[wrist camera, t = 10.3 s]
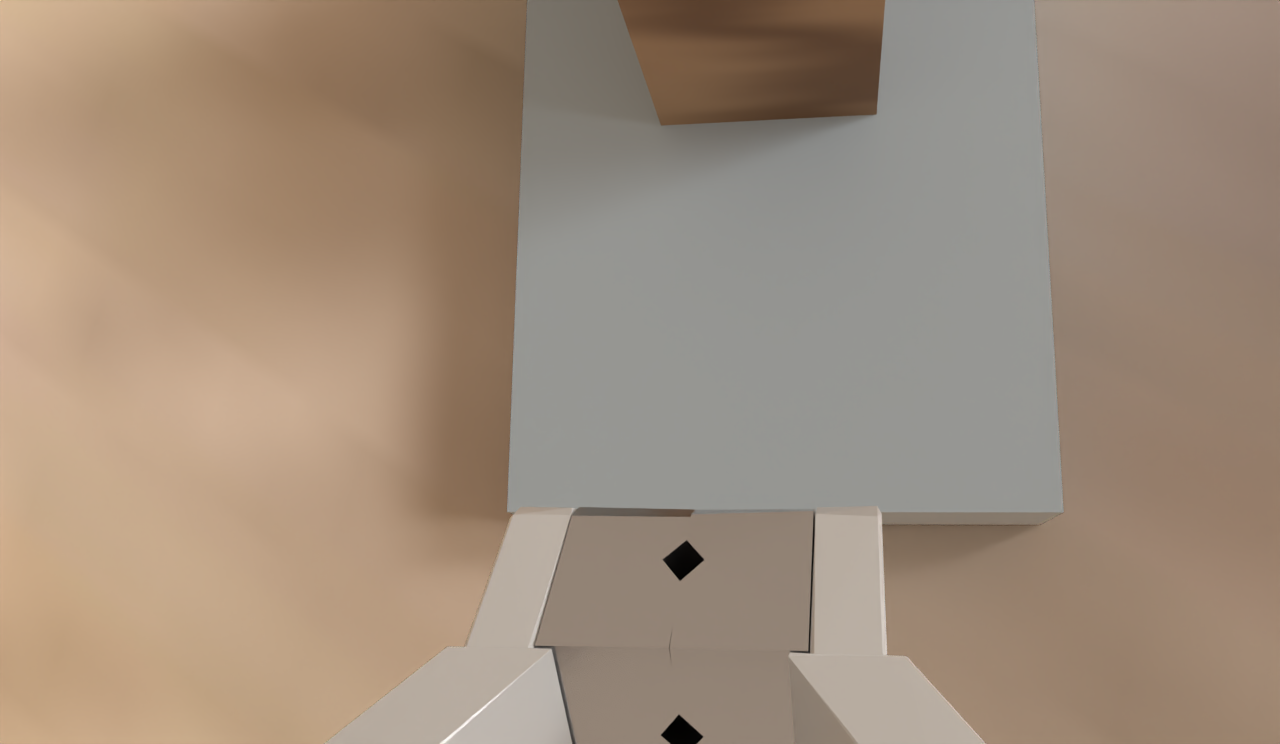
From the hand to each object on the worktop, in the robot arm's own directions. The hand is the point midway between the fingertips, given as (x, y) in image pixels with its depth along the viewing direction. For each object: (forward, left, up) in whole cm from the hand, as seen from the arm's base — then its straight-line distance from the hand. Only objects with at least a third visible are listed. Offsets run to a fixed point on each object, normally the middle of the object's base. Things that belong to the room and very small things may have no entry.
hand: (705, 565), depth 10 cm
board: (0, -10, -19) cm, 22 cm away
